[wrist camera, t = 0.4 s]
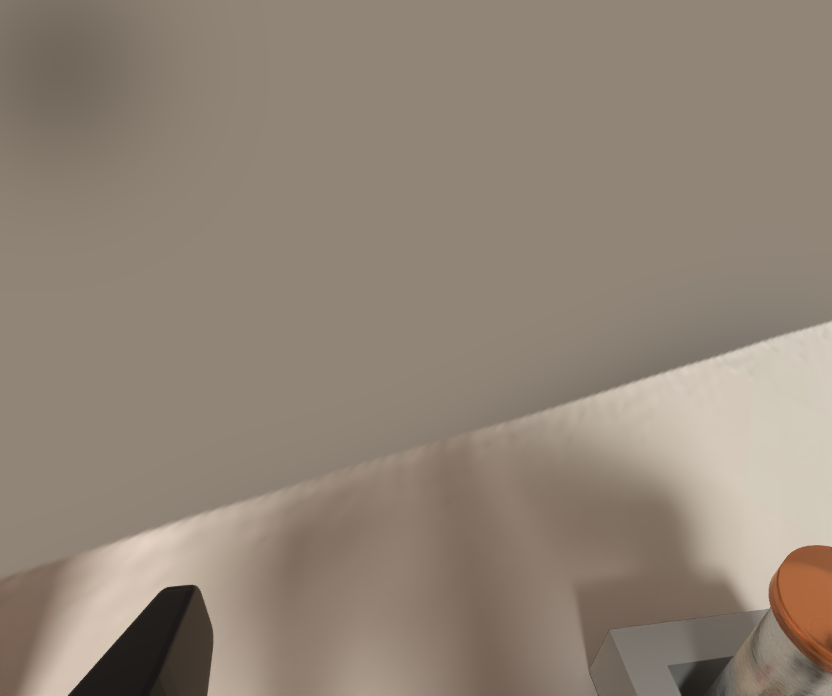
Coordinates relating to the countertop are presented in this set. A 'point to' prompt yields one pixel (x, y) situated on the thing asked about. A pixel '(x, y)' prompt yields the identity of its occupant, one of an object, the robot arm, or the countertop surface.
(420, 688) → the countertop surface
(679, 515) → the countertop surface
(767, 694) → the stop pin
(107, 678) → the robot arm
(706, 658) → the pin socket
